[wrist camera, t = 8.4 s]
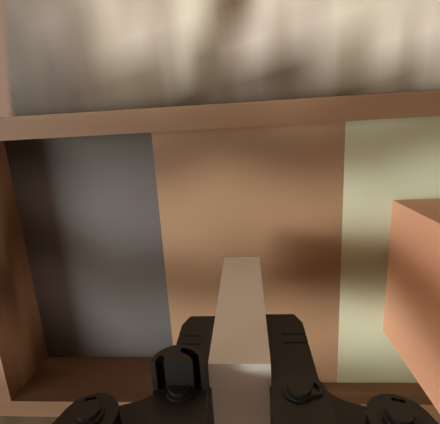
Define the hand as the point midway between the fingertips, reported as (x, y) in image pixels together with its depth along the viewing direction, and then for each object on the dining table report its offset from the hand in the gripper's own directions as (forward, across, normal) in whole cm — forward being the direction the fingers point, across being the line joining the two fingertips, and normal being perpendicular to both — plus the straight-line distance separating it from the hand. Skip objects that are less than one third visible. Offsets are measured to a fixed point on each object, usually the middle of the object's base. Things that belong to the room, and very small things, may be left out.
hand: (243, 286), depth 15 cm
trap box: (+5, +7, 0) cm, 9 cm away
